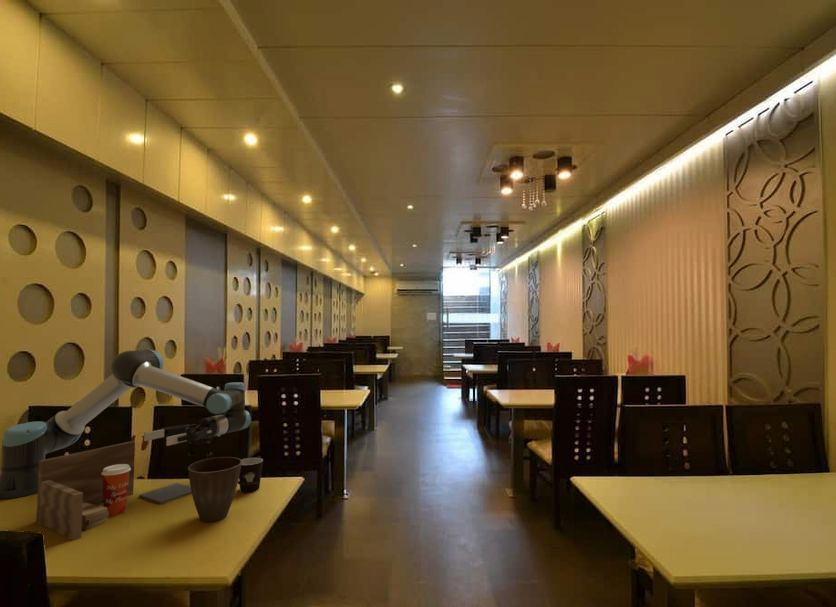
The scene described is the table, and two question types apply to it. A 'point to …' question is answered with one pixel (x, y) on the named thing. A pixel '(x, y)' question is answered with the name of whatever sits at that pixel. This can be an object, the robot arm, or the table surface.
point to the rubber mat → (167, 493)
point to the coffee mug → (250, 474)
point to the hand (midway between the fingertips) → (155, 439)
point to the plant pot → (214, 486)
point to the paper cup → (115, 488)
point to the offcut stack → (93, 515)
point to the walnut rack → (77, 485)
